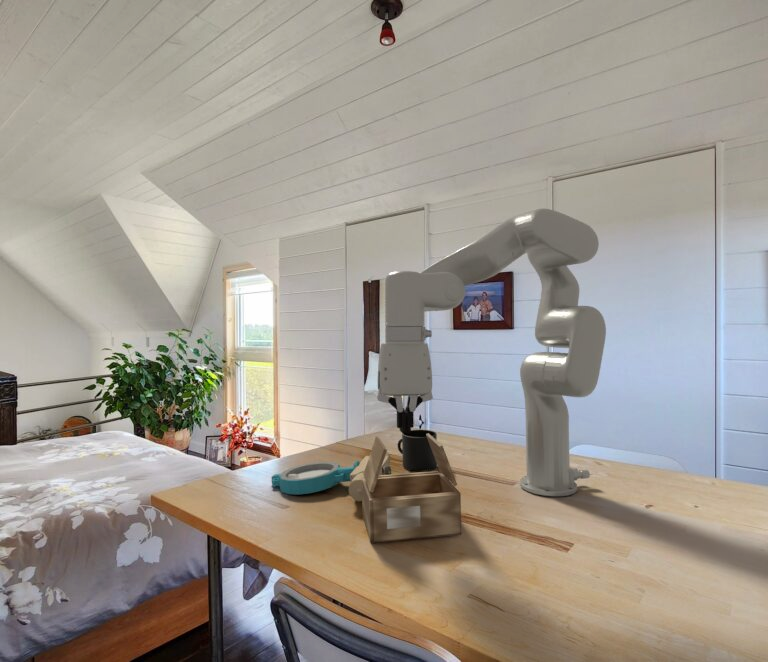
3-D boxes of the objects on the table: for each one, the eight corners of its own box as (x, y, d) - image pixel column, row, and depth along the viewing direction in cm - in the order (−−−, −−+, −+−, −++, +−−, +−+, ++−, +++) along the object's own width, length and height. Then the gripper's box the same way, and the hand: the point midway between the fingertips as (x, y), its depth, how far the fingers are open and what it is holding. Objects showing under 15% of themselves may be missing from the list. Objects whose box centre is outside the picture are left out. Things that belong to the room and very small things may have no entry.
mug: (407, 458, 135) (406, 427, 135) (443, 464, 127) (442, 432, 127) (388, 466, 127) (387, 433, 127) (425, 473, 120) (424, 439, 120)
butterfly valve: (249, 517, 101) (381, 510, 95) (245, 486, 101) (377, 476, 95) (296, 478, 128) (402, 470, 122) (293, 453, 128) (399, 444, 122)
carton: (441, 507, 97) (440, 470, 97) (463, 536, 83) (462, 494, 83) (362, 514, 95) (361, 476, 95) (371, 546, 81) (370, 502, 81)
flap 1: (366, 475, 93) (378, 437, 93) (373, 492, 83) (387, 449, 83) (363, 474, 93) (376, 436, 93) (369, 491, 83) (384, 448, 83)
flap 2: (454, 486, 85) (439, 446, 85) (439, 469, 95) (425, 434, 95) (457, 484, 85) (442, 445, 85) (442, 468, 95) (428, 433, 95)
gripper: (437, 335, 94) (437, 426, 94) (363, 336, 91) (364, 429, 91) (448, 336, 86) (448, 434, 86) (368, 336, 84) (369, 437, 84)
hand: (405, 431), depth 89 cm, fingers closed
